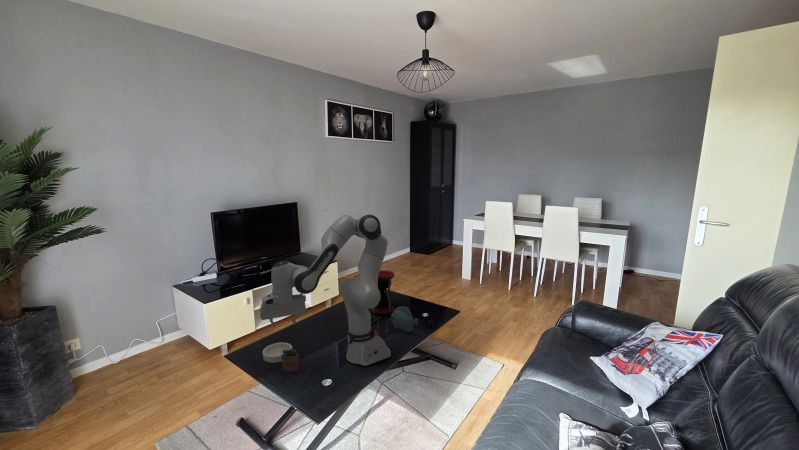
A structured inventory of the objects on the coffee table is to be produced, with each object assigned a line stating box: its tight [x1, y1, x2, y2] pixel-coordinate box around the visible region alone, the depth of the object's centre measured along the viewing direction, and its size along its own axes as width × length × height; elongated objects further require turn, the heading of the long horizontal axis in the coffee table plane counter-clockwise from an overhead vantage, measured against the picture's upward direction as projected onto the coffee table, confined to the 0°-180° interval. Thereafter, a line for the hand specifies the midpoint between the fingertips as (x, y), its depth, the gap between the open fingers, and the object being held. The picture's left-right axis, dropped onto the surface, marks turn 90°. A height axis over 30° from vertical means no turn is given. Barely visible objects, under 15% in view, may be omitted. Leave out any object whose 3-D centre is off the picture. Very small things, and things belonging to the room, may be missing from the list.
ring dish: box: [262, 342, 293, 364], centre depth 170 cm, size 14×14×3 cm
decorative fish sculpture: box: [389, 306, 418, 333], centre depth 195 cm, size 12×20×15 cm, turn 56°
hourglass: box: [370, 269, 396, 315], centre depth 224 cm, size 16×16×25 cm
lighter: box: [281, 348, 301, 373], centre depth 157 cm, size 8×3×10 cm, turn 94°
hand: (284, 324), depth 157 cm, fingers open, 7 cm apart
